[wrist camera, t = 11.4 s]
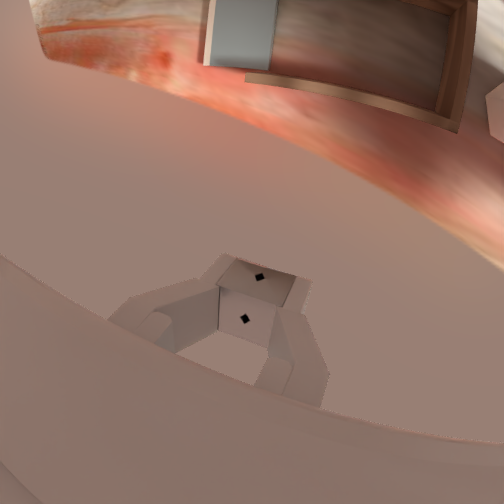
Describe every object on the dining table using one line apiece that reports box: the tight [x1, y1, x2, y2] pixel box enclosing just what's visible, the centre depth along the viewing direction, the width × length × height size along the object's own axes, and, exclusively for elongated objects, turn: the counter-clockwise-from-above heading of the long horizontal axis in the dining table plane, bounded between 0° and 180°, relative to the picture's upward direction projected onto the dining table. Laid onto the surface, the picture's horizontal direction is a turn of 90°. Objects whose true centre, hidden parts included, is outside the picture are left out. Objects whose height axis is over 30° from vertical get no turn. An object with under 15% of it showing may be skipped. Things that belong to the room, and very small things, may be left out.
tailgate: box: [203, 0, 278, 71], centre depth 30 cm, size 1×11×8 cm
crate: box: [245, 0, 478, 134], centre depth 24 cm, size 20×14×8 cm
